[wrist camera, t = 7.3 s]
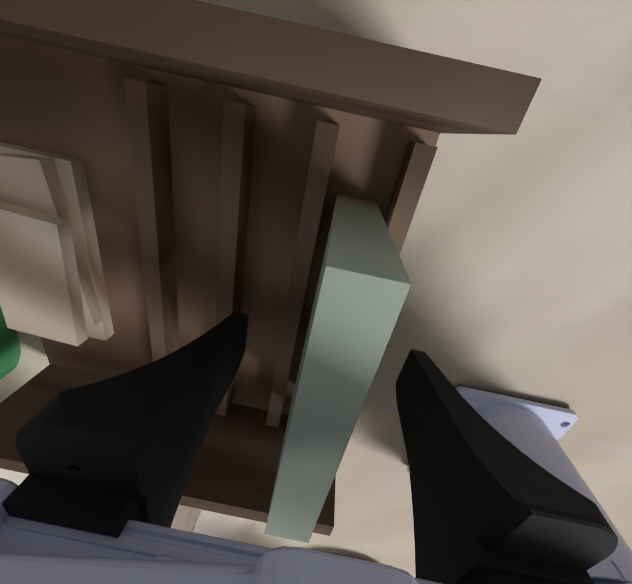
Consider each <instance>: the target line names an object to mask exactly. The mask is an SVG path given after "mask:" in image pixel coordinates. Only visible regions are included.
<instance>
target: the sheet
mask: <svg viewBox="0 0 632 584" xmlns="http://www.w3.org/2000/svg"><path fill="white" fill-rule="evenodd" d="M410 286H411V283H410V281H409V278H408V276H407V273H406V271H405V269H404V266H403V264H402V261H401V259H400V257H399V254H398V252H397V250H396V247H395V245H394V242H393V240H392V238H391V235H390V233H389V230H388V228H387V226H386V223H385V221H384V219H383V216H382V214H381V211H380V209H379V207H378V204H377V203H375V202H371V201H366V200H362V199H357V198H352V197H348V196H343V195H339V194H337V198H336V202H335V207H334V211H333V216H332V220H331V225H330V229H329V234H328V238H327V243H326V247H325V252H324V256H323V261H322V265H321V270H320V275H319V279H318V284H317V288H316V293H315V297H314V302H313V306H312V311H311V315H310V320H309V324H308V329H307V333H306V338H305V342H304V347H303V351H302V356H301V360H300V365H299V370H298V374H297V379H296V383H295V388H294V393H293V398H292V402H291V407H290V412H289V417H288V422H287V427H286V432H285V437H284V441H283V446H282V451H281V456H280V461H279V466H278V471H277V476H276V481H275V485H274V490H273V495H272V500H271V505H270V510H269V515H268V520H267V524H266V529H265V534H268V535H273V536H278V537H283V538H288V539H293V540H297V541H302V542H307V543H308V542H309V540H310V537H311V535H312V532H313V530H314V527H315V525H316V522H317V520H318V517H319V515H320V512H321V510H322V507H323V505H324V502H325V500H326V497H327V495H328V492H329V490H330V487H331V485H332V482H333V480H334V477H335V475H336V472H337V470H338V467H339V464H340V462H341V459H342V457H343V454H344V452H345V449H346V447H347V444H348V442H349V439H350V437H351V434H352V432H353V429H354V427H355V424H356V422H357V419H358V417H359V414H360V412H361V409H362V407H363V404H364V402H365V399H366V397H367V394H368V392H369V389H370V387H371V384H372V382H373V379H374V377H375V374H376V372H377V369H378V367H379V364H380V361H381V359H382V356H383V354H384V351H385V349H386V346H387V344H388V341H389V339H390V336H391V334H392V331H393V329H394V326H395V324H396V321H397V319H398V316H399V314H400V311H401V309H402V306H403V304H404V301H405V299H406V296H407V294H408V291H409V289H410Z"/></svg>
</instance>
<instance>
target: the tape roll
mask: <svg viewBox="0 0 632 584" xmlns="http://www.w3.org/2000/svg"><path fill="white" fill-rule="evenodd" d="M20 352H21V350H20V342H19V338H18V336H17V333H16V331H15V330H13V329H9V328H7V325H6V321H5V318H4V315H3V312H2V309H1V307H0V379H1V378H2V377H4V376H5V375H7V374H8V373H9V372H11V371H12V370H13V369H14V368H15V367H16V366H17V364H18V362H19V359H20Z"/></svg>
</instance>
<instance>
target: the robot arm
mask: <svg viewBox="0 0 632 584" xmlns="http://www.w3.org/2000/svg"><path fill="white" fill-rule="evenodd" d="M248 317H249V314H244V313H239V312H234V313H232V314H231V315H229V316H228V317H227V318H225V319H224V320H223V321H221V322H220V323H218V324H217V325H216V326H214V327H213V328H211V329H210V330H209V331H207V332H206V333H204V334H203V335H201V336H200V337H198V338H197V339H195V340H193V341H192V342H190V343H188V344H187V345H185V346H183V347H182V348H180V349H178V350H176V351H174V352H173V353H171V354H169V355H166V356H164V357H162V358H160V359H158V360H156V361H153V362H151V363H149V364H146V365H144V366H141V367H139V368H137V369H134V370H132V371H129V372H126V373H123V374H120V375H117V376H114V377H111V378H108V379H105V380H102V381H99V382H95V383H91V384H88V385H84V386H80V387H76V388H73V389H69V390H65V391H61V392H60V393H58V394H57V395H56V396H55V397H54V398H52V399H51V400H50V401H49V402H48V403H47V404H46V405H44V406H43V407H42V408H41V409H40V410H39V411H38V412H37V413H36V414H35V415H34V416H32V417H31V418H30V419H29V420H28V421H27V422H26V423H25V424H24V425H23V426H22V427H21V428H20V429H19V430H18V431H17V432H16V436H15V443H16V447H17V450H18V452H19V454H20V456H21V458H22V460H23V462H24V464H25V466H26V468H27V470H28V472H29V475H28V476H27V477H26V479H25V480H24V481H23V482H22V483H21V484H20V485H19V486H18V485H17V484H15V483H13V482H12V481H9V480H6V479H3V478H0V584H632V551H631V549H630V548H629V546H628V545H627V543H626V542H625V540H624V539H623V537H622V536H621V535H620V533H619V532H618V530H617V529H616V527H615V526H614V524H613V523H612V521H611V520H610V518H609V517H608V515H607V514H606V512H605V511H604V509H603V508H602V507H601V505H600V504H599V502H598V501H597V499H596V498H595V496H594V495H593V493H592V492H591V490H590V489H589V487H588V486H587V484H586V483H585V481H584V480H583V479H582V477H581V476H580V474H579V473H578V471H577V470H576V468H575V467H574V465H573V464H572V462H571V461H570V459H569V458H568V456H567V455H566V454H565V452H564V451H563V449H562V448H561V446H560V445H559V443H558V442H557V441H558V440H559V439H560V438H561V437H562V436H563V435H564V434H565V432H566V431H567V430H568V429H569V428H570V427H571V426H572V425H573V424H574V423H575V422H576V421H577V419H578V415H577V414H576V413H575V412H574V411H573V410H571V409H566V408H562V407H557V406H552V405H547V404H543V403H538V402H533V401H529V400H524V399H519V398H515V397H510V396H505V395H500V394H496V393H491V392H486V391H482V390H477V389H472V388H467V387H461V386H460V387H456V388H454V386H453V385H452V384H451V383H450V382H449V380H448V379H447V378H446V377H445V376H444V375H443V373H442V372H441V371H440V370H439V368H438V367H437V366H436V365H435V364H434V362H433V361H432V360H431V359H430V358H429V356H428V355H427V354H426V353H425V352H422V351H417V350H412V349H411V350H410V352H409V354H408V357H407V359H406V361H405V363H404V365H403V368H402V370H401V372H400V374H399V376H398V379H397V381H396V397H397V407H398V412H399V417H400V422H401V427H402V432H403V437H404V442H405V447H406V451H407V457H408V463H409V465H408V466H407V470H408V473H409V474H410V481H411V492H412V505H413V518H414V537H415V564H416V578H413V577H412V576H411V575H410V574H409V573H408V572H407V571H404V570H401V569H398V568H396V567H393V566H389V565H384V564H379V563H375V562H370V561H365V560H360V559H355V558H350V557H345V556H340V555H336V554H331V553H326V552H321V551H316V550H311V549H306V548H300V547H287V546H282V547H278V548H273V549H271V548H266V547H261V546H256V545H251V544H246V543H242V542H237V541H232V540H227V539H222V538H217V537H212V536H207V535H202V534H198V533H193V532H188V531H183V530H178V529H173V528H171V525H172V522H173V519H174V517H175V514H176V511H177V508H178V505H179V503H180V500H181V497H182V495H183V492H184V489H185V487H186V484H187V481H188V479H189V476H190V473H191V471H192V468H193V466H194V463H195V460H196V458H197V455H198V453H199V450H200V448H201V445H202V443H203V440H204V438H205V435H206V433H207V431H208V428H209V426H210V423H211V421H212V419H213V417H214V415H215V413H216V411H217V409H218V407H219V405H220V404H221V402H222V400H223V398H224V396H225V394H226V392H227V390H228V388H229V387H230V385H231V383H232V381H233V379H234V377H235V375H236V373H237V371H238V369H239V366H240V363H241V361H242V358H243V355H244V353H245V348H246V338H247V328H248Z"/></svg>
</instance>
